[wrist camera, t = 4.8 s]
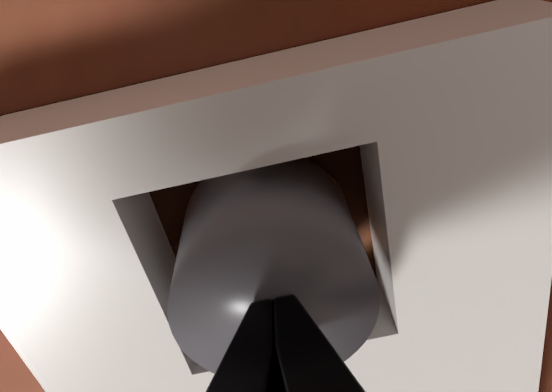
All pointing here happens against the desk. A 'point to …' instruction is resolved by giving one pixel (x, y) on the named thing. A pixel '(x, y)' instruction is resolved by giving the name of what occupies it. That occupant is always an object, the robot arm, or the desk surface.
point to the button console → (285, 147)
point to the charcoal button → (270, 259)
